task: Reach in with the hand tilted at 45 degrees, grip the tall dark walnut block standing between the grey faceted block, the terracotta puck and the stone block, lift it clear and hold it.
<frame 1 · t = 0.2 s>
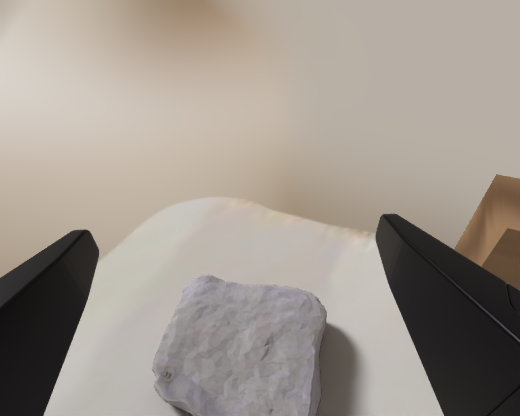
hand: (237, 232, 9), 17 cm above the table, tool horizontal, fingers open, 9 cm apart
walnut block: (458, 337, 24), on the table
stone block: (243, 363, 23), on the table
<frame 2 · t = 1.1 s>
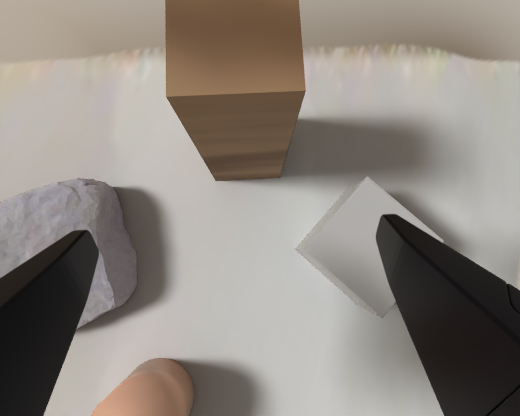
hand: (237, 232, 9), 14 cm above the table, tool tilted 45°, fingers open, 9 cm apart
walnut block: (246, 148, 24), on the table
terracotta puck: (159, 395, 21), on the table
grey faceted block: (349, 246, 23), on the table
stone block: (60, 264, 23), on the table
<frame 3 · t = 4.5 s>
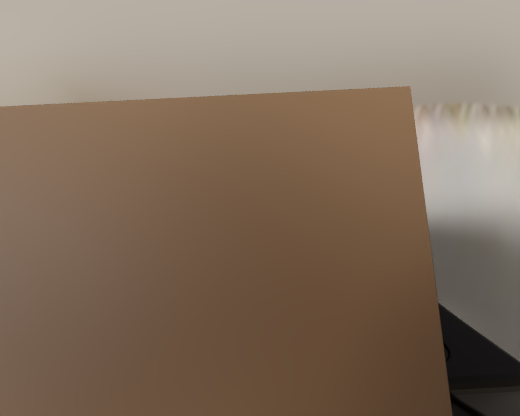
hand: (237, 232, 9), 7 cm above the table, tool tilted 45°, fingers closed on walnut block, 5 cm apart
walnut block: (246, 266, 16), on the table, touching gripper
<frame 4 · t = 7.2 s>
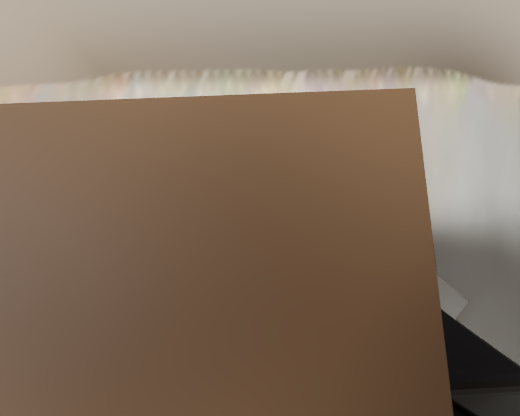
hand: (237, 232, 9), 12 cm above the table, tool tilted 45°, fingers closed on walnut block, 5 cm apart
walnut block: (248, 266, 16), point 5 cm above the table, touching gripper
grey faceted block: (360, 292, 21), on the table
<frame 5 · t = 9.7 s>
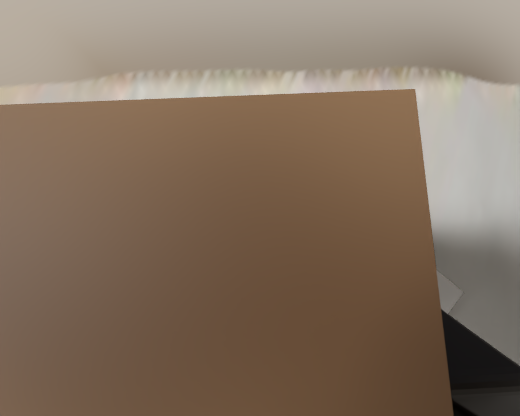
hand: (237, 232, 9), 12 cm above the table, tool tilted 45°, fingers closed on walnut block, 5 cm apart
walnut block: (248, 266, 16), point 6 cm above the table, touching gripper
grey faceted block: (358, 287, 22), on the table
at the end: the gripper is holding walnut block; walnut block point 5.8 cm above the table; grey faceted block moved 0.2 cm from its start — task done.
